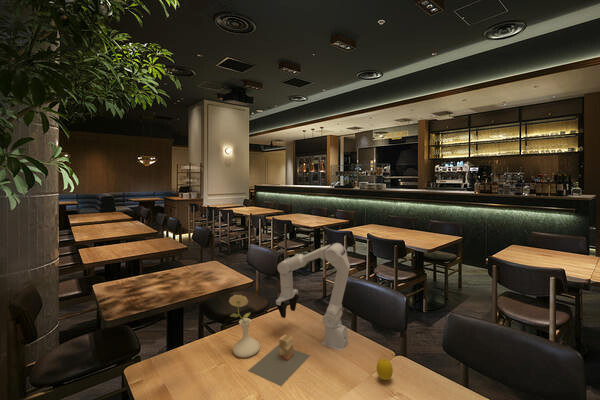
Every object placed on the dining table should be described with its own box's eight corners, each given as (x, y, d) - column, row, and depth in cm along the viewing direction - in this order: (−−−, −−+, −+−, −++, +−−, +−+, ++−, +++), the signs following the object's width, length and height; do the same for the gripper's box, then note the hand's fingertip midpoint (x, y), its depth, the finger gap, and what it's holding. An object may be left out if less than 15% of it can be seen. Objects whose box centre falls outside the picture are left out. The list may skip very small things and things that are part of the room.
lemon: (374, 375, 108) (374, 354, 107) (389, 373, 108) (389, 353, 107) (379, 386, 102) (379, 364, 101) (395, 384, 103) (395, 363, 102)
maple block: (293, 355, 120) (292, 337, 120) (287, 360, 117) (287, 341, 116) (285, 352, 123) (284, 334, 122) (279, 357, 119) (278, 339, 118)
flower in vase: (264, 346, 128) (261, 291, 126) (252, 362, 118) (248, 302, 115) (238, 341, 133) (235, 288, 130) (224, 357, 122) (220, 299, 119)
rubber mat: (310, 356, 120) (310, 355, 120) (281, 387, 103) (281, 386, 103) (279, 345, 129) (279, 344, 129) (247, 371, 112) (247, 370, 112)
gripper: (289, 279, 144) (290, 305, 145) (270, 289, 132) (271, 318, 133) (300, 281, 140) (302, 308, 141) (282, 292, 128) (284, 322, 129)
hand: (288, 313), depth 137 cm, fingers open, 7 cm apart
